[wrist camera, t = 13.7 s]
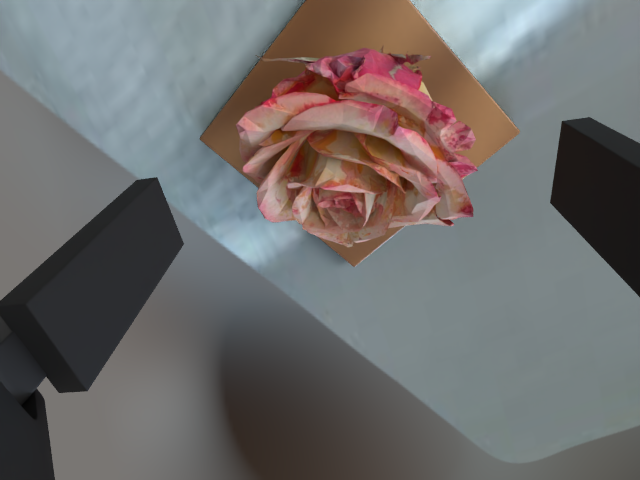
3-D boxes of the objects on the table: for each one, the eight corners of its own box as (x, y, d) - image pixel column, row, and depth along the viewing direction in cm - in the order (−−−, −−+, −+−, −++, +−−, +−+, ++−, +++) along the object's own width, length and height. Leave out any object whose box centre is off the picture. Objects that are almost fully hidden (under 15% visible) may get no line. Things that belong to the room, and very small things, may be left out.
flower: (255, -46, 14) (168, 125, 11) (527, -38, 13) (510, 171, 10) (298, 131, 23) (256, 256, 20) (463, 153, 21) (444, 294, 18)
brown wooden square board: (203, 134, 21) (198, 139, 20) (355, -62, 16) (355, -65, 15) (354, 260, 24) (354, 267, 23) (515, 127, 19) (521, 132, 19)
